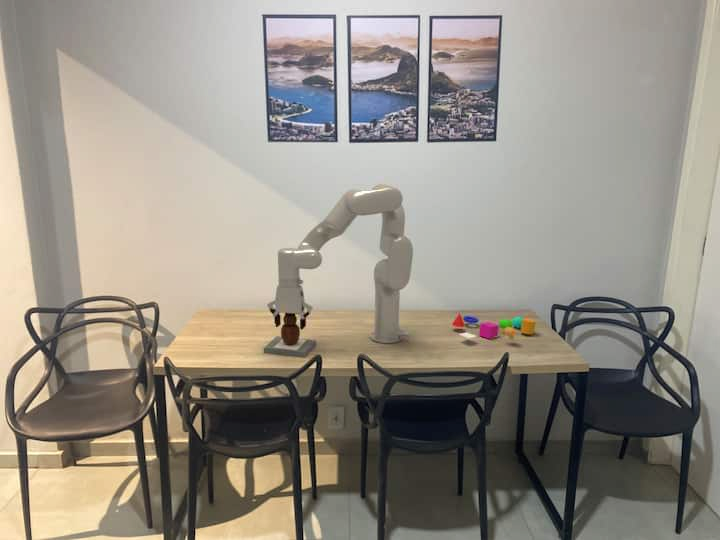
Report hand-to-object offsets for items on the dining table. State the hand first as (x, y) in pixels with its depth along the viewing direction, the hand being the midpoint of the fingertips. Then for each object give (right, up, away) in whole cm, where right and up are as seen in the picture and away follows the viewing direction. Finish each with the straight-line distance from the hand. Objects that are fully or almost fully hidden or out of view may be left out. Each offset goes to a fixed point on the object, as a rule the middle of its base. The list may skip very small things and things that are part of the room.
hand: (290, 327), depth 192 cm
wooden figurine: (0, -6, +2) cm, 7 cm away
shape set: (+79, -5, +19) cm, 81 cm away
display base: (0, -8, +2) cm, 9 cm away
